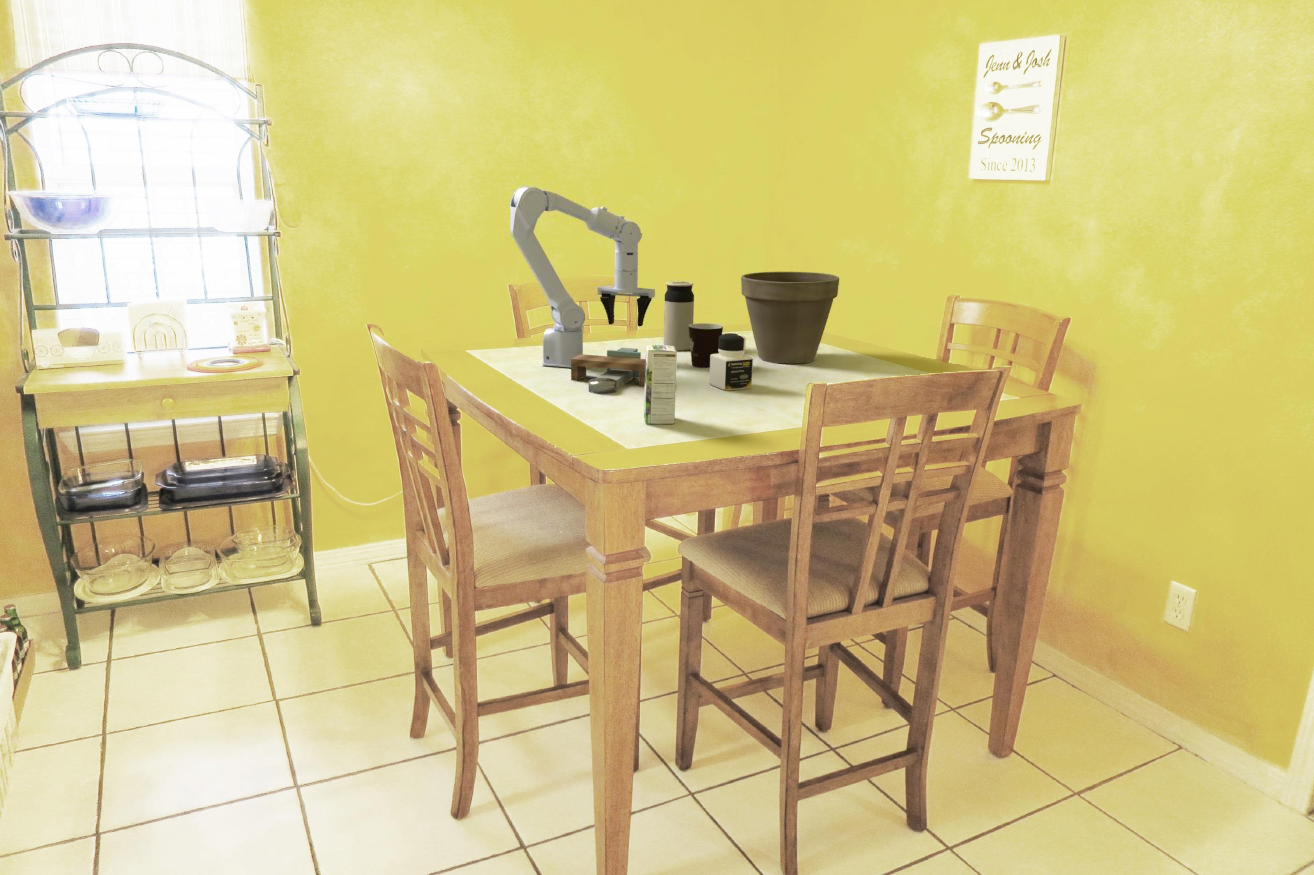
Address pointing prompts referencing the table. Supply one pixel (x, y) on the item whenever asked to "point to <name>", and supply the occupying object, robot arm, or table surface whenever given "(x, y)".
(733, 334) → the medicine bottle
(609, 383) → the token
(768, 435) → the table surface
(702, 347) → the coffee mug
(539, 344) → the table surface
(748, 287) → the plant pot
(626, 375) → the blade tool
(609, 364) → the riser shelf
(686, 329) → the travel mug
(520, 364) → the table surface
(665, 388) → the syrup box
